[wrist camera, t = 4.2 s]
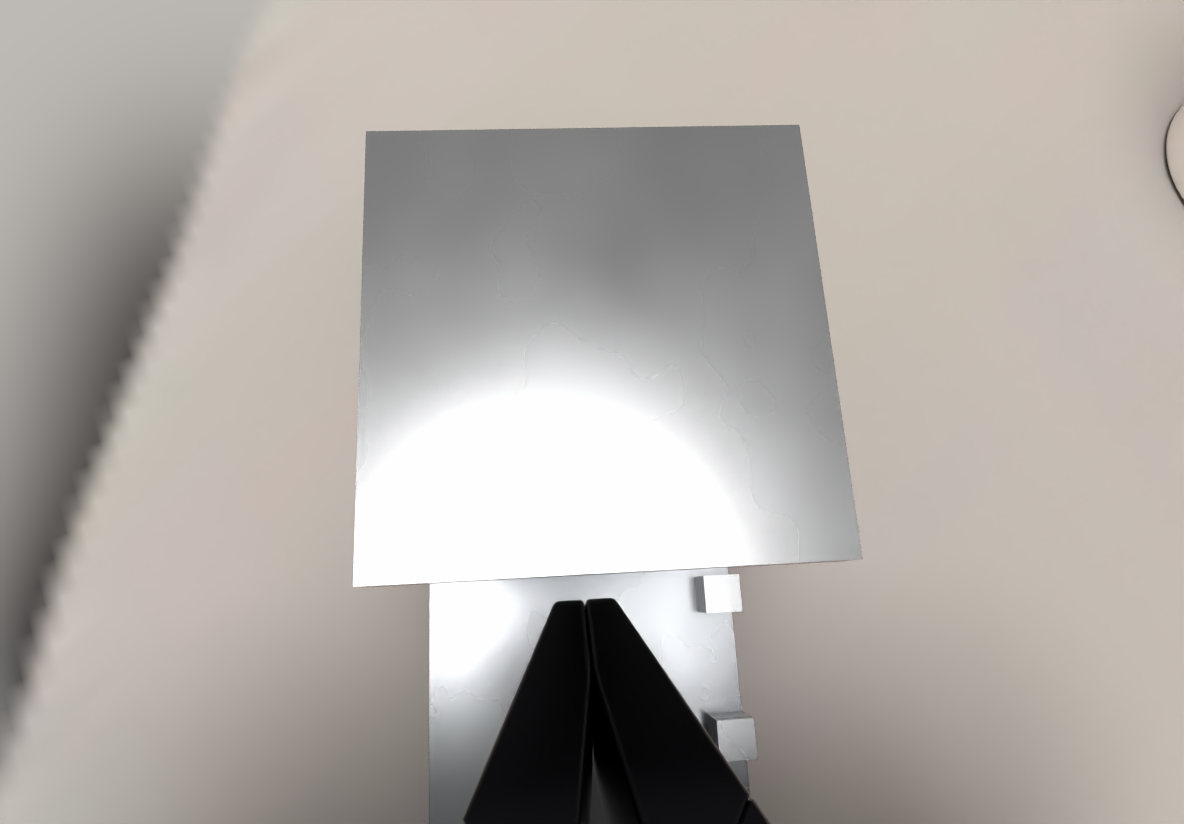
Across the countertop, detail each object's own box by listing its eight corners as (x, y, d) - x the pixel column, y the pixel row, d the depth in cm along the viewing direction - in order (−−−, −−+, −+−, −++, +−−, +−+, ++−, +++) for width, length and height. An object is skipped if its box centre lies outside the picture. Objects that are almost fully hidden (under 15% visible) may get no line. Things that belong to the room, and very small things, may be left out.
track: (774, 1180, 15) (852, 1390, 11) (438, 1217, 14) (394, 1449, 10) (678, 172, 21) (706, 75, 17) (438, 177, 20) (410, 78, 16)
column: (694, 576, 16) (863, 559, 7) (466, 589, 16) (353, 587, 7) (675, 363, 17) (799, 124, 9) (464, 370, 17) (366, 131, 8)
